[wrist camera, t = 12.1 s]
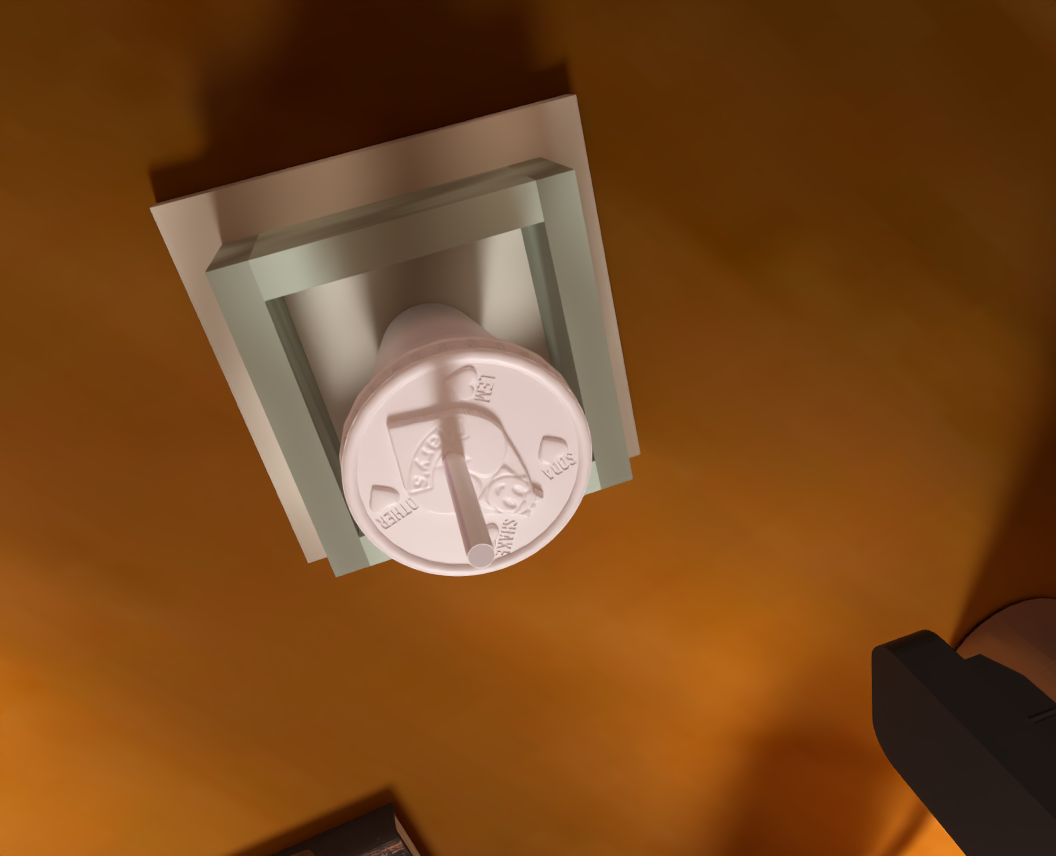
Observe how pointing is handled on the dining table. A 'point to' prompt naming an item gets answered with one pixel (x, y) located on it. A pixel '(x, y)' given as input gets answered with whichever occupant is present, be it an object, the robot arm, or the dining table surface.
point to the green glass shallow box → (400, 288)
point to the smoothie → (462, 447)
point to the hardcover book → (361, 838)
